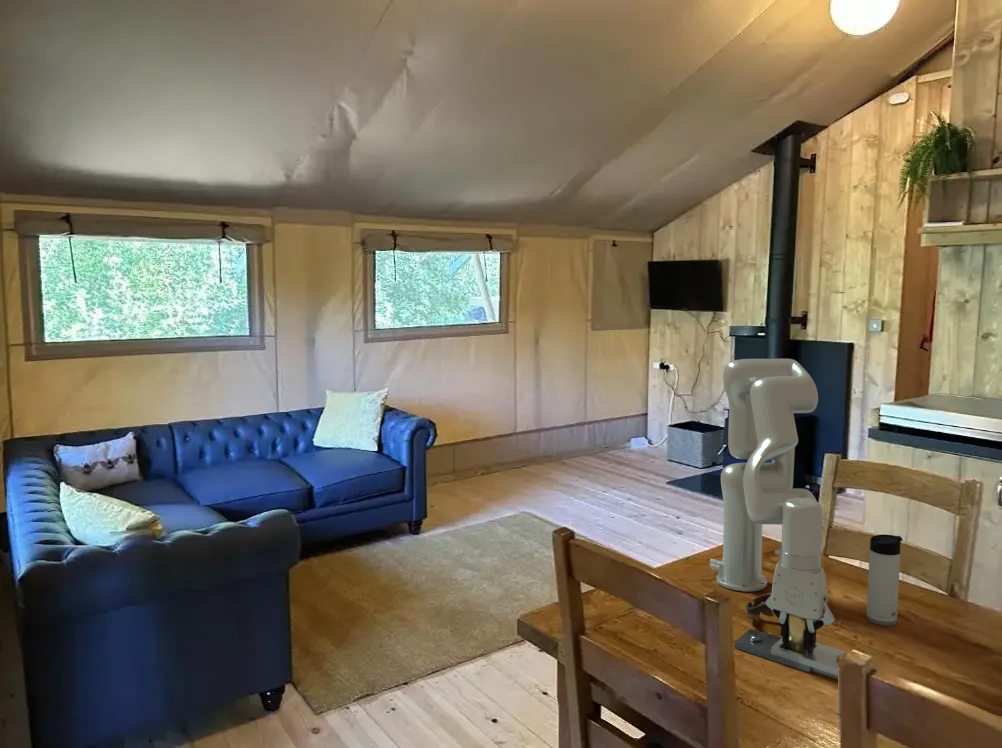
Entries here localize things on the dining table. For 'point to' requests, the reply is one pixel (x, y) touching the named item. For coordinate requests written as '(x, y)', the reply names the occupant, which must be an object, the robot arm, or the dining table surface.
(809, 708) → the dining table surface
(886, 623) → the travel mug
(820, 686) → the dining table surface
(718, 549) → the dining table surface
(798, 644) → the pin
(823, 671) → the grey plate with socket
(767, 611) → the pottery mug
